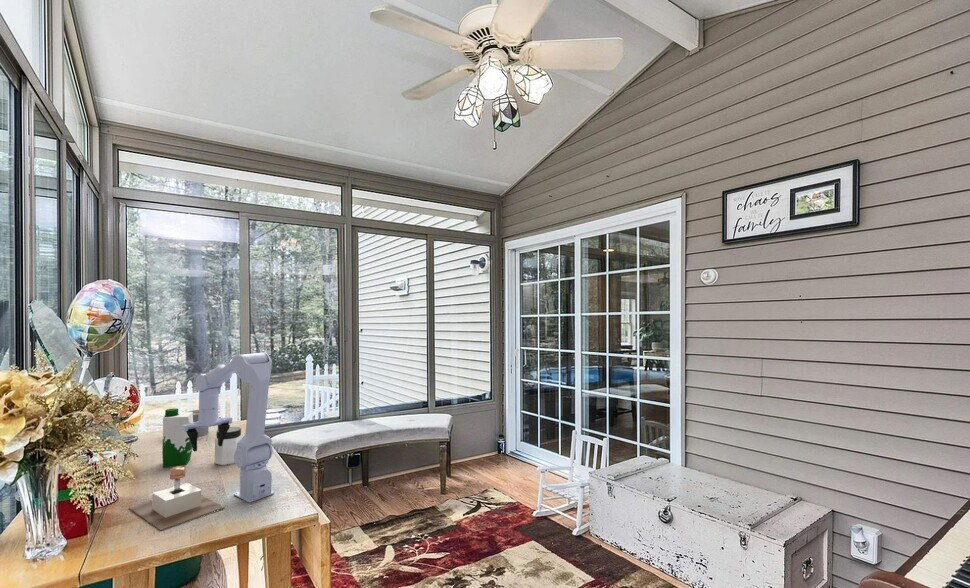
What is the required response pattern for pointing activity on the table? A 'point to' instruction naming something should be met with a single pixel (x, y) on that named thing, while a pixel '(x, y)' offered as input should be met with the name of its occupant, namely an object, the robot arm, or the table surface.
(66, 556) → the table surface
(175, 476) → the plunger
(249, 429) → the robot arm
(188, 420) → the milk carton
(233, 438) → the jar
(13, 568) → the table surface
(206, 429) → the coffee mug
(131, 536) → the table surface
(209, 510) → the board
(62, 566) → the table surface
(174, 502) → the hollow square block
